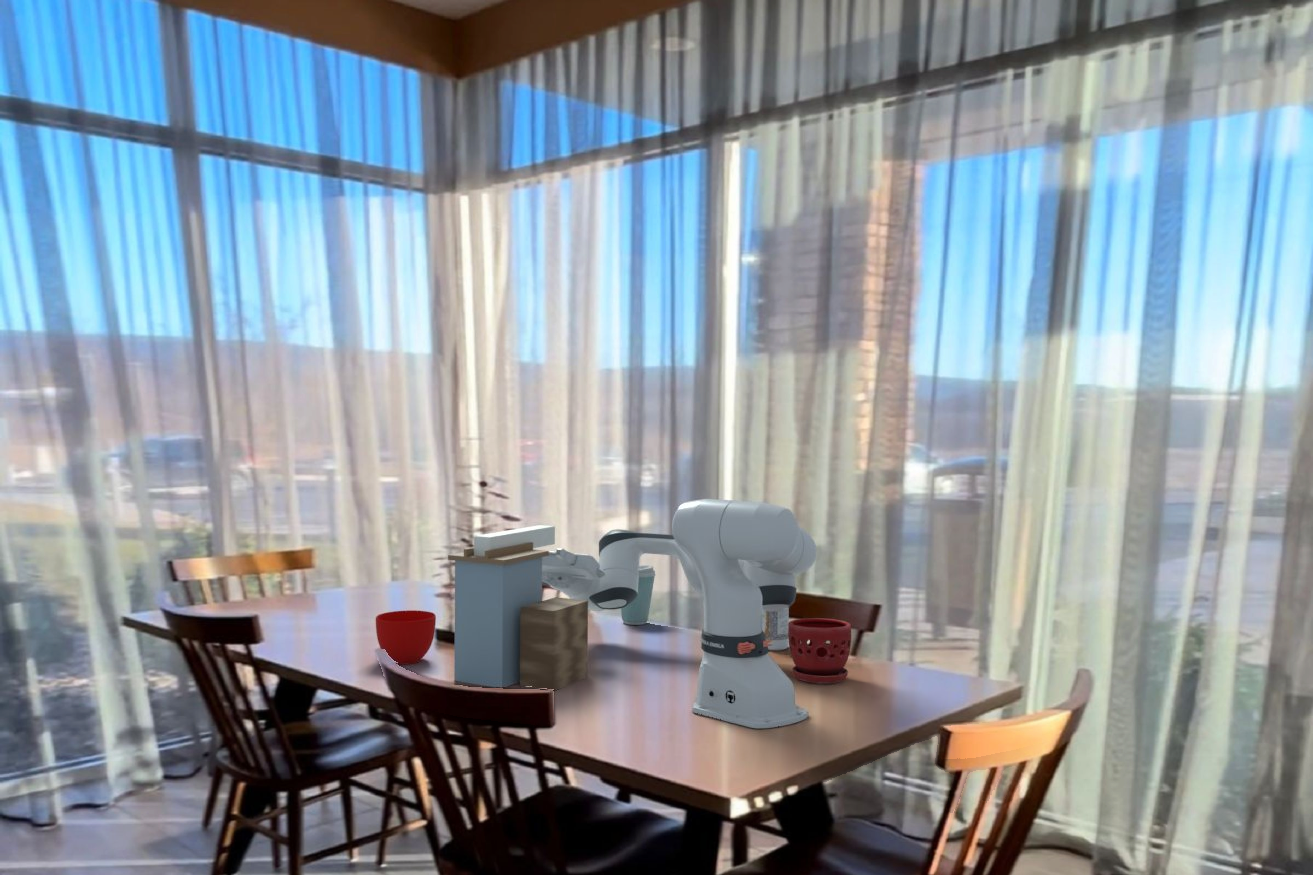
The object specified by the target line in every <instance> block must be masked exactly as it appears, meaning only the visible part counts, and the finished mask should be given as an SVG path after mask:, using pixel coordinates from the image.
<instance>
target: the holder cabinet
mask: <svg viewBox="0 0 1313 875" xmlns="http://www.w3.org/2000/svg"><path fill="white" fill-rule="evenodd" d="M549 551H550V550H545V549H544V550H543V549H534V548H533V542H529V543H524V544H519V545H513V546H508V547H503V548H498V549H492V550H487V551H485V557H484V556H474V546H473V547H468V548H463V551H462V552H457V553H456V552H455V553H451V554H447V560H448V561H454V660H453V661H454V666H453V667H454V670H453V672H454V682H460V683H467V684H472V685H479V686H486V687H489V688H490V687H491V688H496V687H505V688H507V687H510V686H512V685H515V684H517V683H520V613H521V607H523V606H527V605H530V604H534V603H537V602H541V601H543V585H542V557H544V556H549Z"/></svg>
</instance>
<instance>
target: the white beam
mask: <svg viewBox="0 0 1313 875" xmlns="http://www.w3.org/2000/svg"><path fill="white" fill-rule="evenodd" d="M529 542H533V549H537V548H541V547H547V546H548V547H549V546H551V545H555V544H556V526H555V525H544V524H543V525H541V524H540V525H538V524H537V525H534V526H528V527H527V526H526V527H520V528H514V529H509V530H508V529H507V530H504V531H503V530H502V531H497V532H490V533H484V534H478V535H474V536H473V547H474V556H484V557H485V551H487V550H492V549H498V548H503V547H508V546H513V545H519V544H524V543H529Z"/></svg>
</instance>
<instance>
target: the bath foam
mask: <svg viewBox="0 0 1313 875" xmlns="http://www.w3.org/2000/svg"><path fill="white" fill-rule="evenodd" d="M789 610H790V607H788V608H785V609H783V610H780V611H776V612H768V611H764V610H762V631H763V632H764V634H765V638H766V640H773V641H772V642H770V643H768V644H772V646H768V649H769V651H784V650H786V649H788V648H789V639H788V624H789V622H790V621H789V617H790V615H789V614H790V612H789ZM768 644H767V645H768Z"/></svg>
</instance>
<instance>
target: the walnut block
mask: <svg viewBox="0 0 1313 875" xmlns="http://www.w3.org/2000/svg"><path fill="white" fill-rule="evenodd" d="M588 625H589V610H588V601H586V600H577V599H571V598H568V597H567V598H566V597H556V596H555V597H552V598H548V599H545V600H542V601H541V602H537V603H534V604H530V605H527V606H523V607H521V613H520V682H519V686H520V687H523V686H532V687H533V688H532V689H535V688H547V689H554V690H555V691H557V690H560V689H562V688H565V687H566V686H568V685H572V684H573V683H575V682H579V681H580V680H583V679H585V678H587V677H588V662H589V661H588V655H589V654H588V652H589V650H588V649H589V647H588V642H589V640H588V638H589V637H588V635H589V634H588V632H589V630H588V629H589V627H588Z"/></svg>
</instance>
